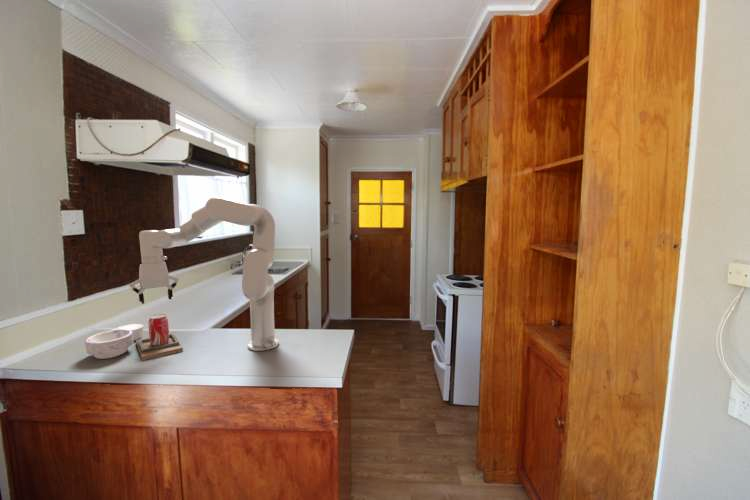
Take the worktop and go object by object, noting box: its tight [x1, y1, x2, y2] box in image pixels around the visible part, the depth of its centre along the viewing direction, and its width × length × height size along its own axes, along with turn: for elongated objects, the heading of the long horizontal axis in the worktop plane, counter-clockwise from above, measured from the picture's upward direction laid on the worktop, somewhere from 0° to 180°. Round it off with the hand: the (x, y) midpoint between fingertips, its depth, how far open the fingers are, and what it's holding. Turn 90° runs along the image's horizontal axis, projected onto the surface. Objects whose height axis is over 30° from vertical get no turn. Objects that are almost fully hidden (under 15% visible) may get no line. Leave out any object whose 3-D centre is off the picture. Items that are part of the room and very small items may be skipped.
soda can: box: [147, 313, 170, 346], centre depth 146 cm, size 7×7×12 cm
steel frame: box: [138, 333, 180, 353], centre depth 146 cm, size 13×13×1 cm
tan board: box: [135, 332, 184, 361], centre depth 147 cm, size 22×14×2 cm, turn 39°
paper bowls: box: [84, 329, 134, 360], centre depth 139 cm, size 15×15×8 cm
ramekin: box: [113, 323, 144, 342], centre depth 156 cm, size 11×11×5 cm
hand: (156, 300), depth 144 cm, fingers open, 9 cm apart
